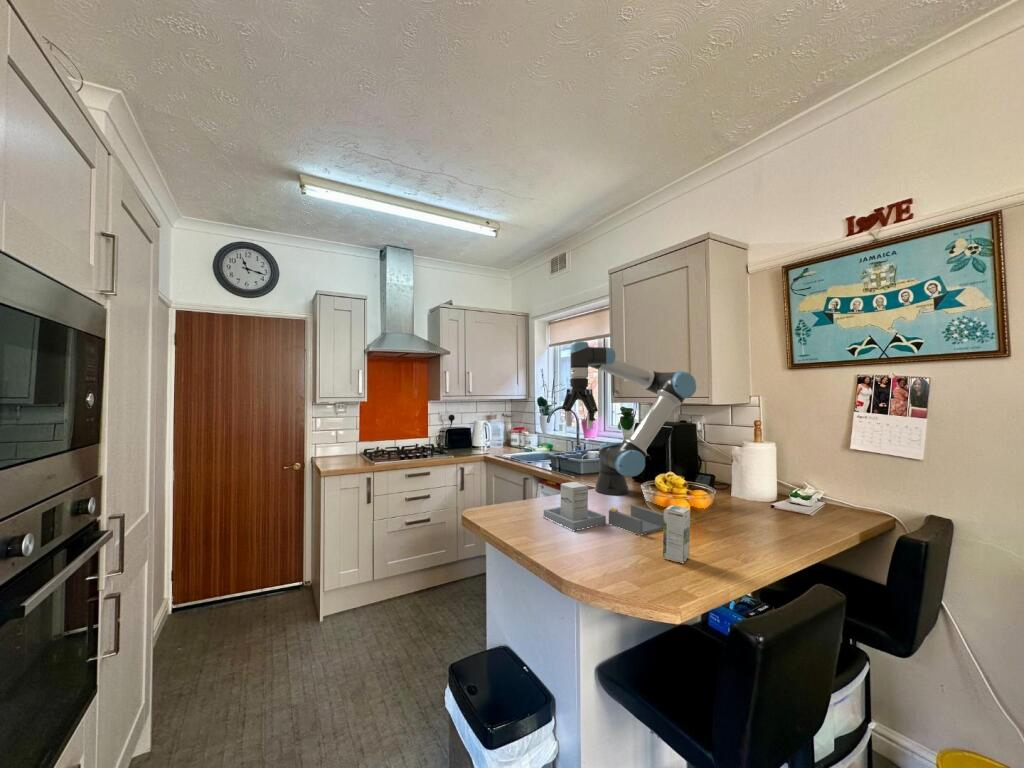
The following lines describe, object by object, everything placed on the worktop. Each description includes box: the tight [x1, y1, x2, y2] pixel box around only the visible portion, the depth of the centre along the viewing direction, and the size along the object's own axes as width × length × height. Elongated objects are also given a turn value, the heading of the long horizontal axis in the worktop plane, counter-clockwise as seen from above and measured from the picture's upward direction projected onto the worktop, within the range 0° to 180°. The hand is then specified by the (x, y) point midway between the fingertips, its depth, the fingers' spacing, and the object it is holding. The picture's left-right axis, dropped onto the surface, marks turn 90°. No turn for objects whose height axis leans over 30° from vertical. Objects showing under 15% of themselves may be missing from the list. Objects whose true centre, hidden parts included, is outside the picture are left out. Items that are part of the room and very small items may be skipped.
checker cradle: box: [608, 504, 664, 535], centre depth 146 cm, size 13×14×6 cm
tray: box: [543, 506, 607, 530], centre depth 152 cm, size 15×17×3 cm
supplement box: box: [560, 481, 589, 521], centre depth 152 cm, size 7×7×13 cm
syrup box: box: [662, 505, 691, 562], centre depth 119 cm, size 6×6×14 cm
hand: (579, 427), depth 178 cm, fingers open, 13 cm apart
